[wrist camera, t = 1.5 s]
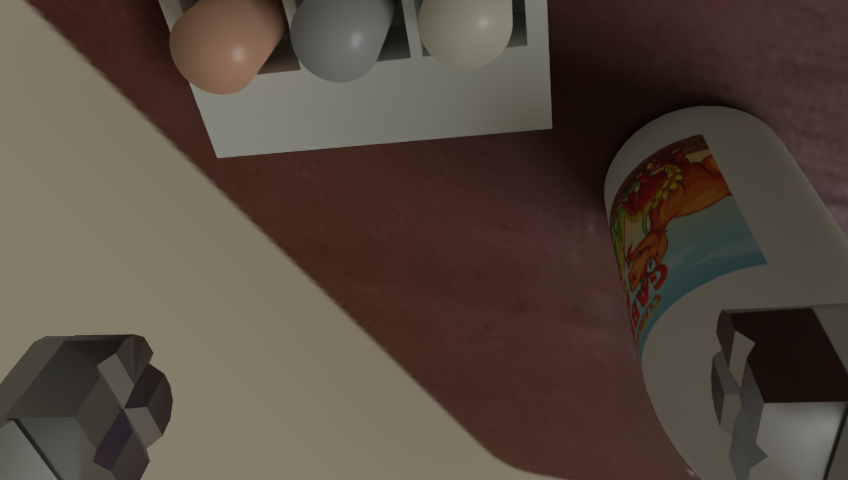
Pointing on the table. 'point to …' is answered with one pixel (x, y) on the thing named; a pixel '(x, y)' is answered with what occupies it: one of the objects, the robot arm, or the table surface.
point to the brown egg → (226, 42)
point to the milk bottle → (711, 254)
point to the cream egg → (465, 30)
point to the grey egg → (340, 36)
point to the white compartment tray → (383, 92)
